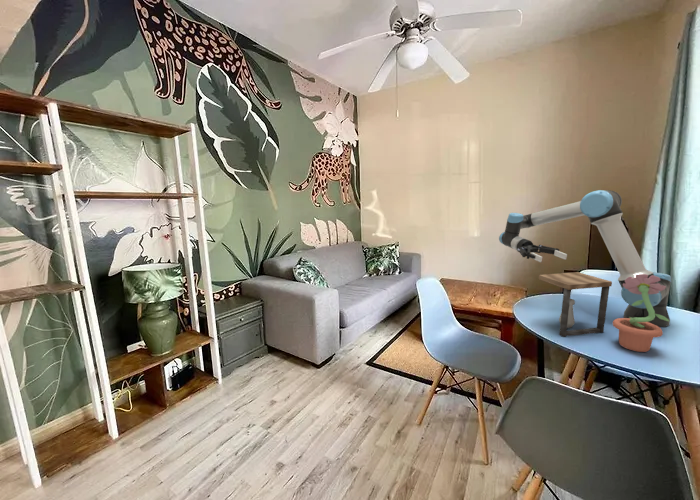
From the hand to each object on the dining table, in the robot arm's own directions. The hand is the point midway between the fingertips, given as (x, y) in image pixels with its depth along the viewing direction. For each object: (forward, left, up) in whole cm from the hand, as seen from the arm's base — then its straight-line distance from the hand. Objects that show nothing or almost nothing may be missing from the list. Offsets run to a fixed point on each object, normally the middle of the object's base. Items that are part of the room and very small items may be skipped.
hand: (553, 258), depth 141 cm
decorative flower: (-21, +28, -29) cm, 46 cm away
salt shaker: (-3, +12, -29) cm, 32 cm away
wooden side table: (-4, +13, -29) cm, 32 cm away
